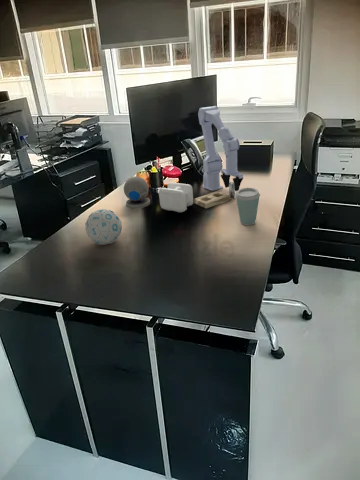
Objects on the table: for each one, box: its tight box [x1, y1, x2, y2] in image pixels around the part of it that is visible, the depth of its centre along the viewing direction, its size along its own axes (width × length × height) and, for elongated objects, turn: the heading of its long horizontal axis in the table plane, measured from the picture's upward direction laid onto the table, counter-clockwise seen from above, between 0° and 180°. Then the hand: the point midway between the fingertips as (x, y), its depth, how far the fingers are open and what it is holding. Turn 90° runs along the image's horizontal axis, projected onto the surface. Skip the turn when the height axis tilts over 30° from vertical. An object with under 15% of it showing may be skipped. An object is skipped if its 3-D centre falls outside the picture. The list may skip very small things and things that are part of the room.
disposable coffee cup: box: [235, 187, 261, 226], centre depth 160 cm, size 11×11×15 cm
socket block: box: [193, 190, 231, 209], centre depth 188 cm, size 10×16×2 cm, turn 125°
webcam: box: [123, 176, 151, 210], centre depth 190 cm, size 13×13×15 cm
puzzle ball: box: [85, 208, 123, 246], centre depth 153 cm, size 15×15×15 cm
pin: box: [228, 181, 236, 199], centre depth 190 cm, size 3×3×8 cm
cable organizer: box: [158, 181, 194, 213], centre depth 182 cm, size 15×11×12 cm
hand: (231, 188), depth 189 cm, fingers open, 7 cm apart
